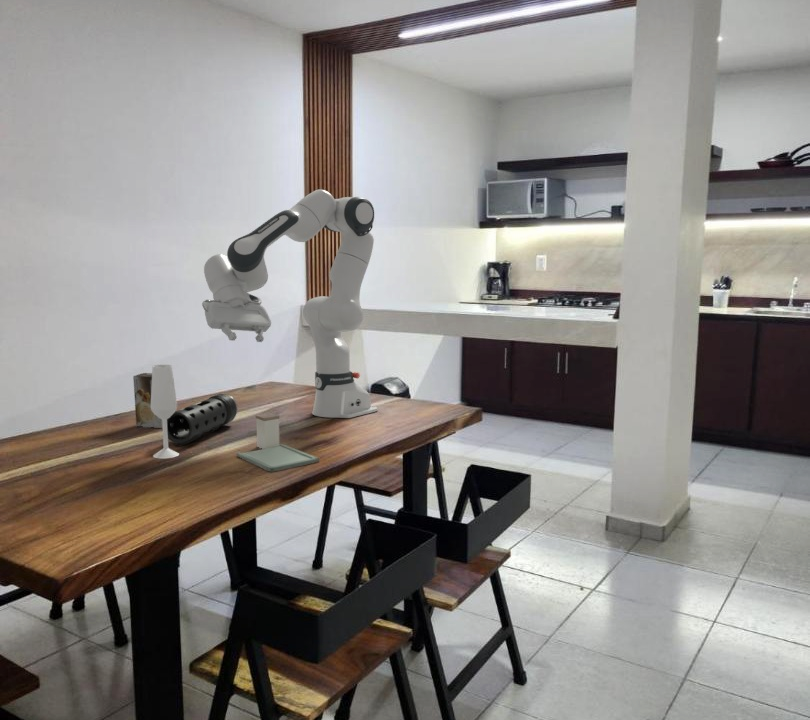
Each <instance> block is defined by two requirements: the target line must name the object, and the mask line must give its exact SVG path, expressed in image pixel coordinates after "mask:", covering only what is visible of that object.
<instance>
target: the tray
mask: <svg viewBox="0 0 810 720" xmlns="http://www.w3.org/2000/svg"><path fill="white" fill-rule="evenodd" d="M237 456H238V457H237ZM236 457H237V458H239V457H240V459H241V458H242V460H244V461H245V462H247V463H250V464H252V465H254V466H257V467H259V468H261V469H263V470H265V471H267V472H269V473H273V472H274V473H275V472H279V471H282V470H287V469H293V468H297V467H302V466H306V465H311V463H312V464H315V463H314V462H316V463H319V461H320V458H319V457H316V456H314V455H312V454H309V453H307V452H304V451H302V450H299V449H297V448H294V447H291V446H289V445H287V444H285V443H282V444H279V446H278V447H272V448H267V449H257V450H252V451H247V452H242V451H239V452H236Z"/></svg>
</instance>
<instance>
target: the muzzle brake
mask: <svg viewBox="0 0 810 720" xmlns="http://www.w3.org/2000/svg"><path fill="white" fill-rule="evenodd" d="M238 406H239V405H238V403H237V401H236V400H235V398H234V397H233V396H232V395H229V394H225V393H219V394H215V395H212V396H210V397H209V398H207V399H204V400H203V401H199V402H197V403H194V404H191V405H189V406H186V407H184V408H180V409H178V410H176V411H175V412H174V414H173V415H172V416H171V417H170V418H168V419H167V432H168V441H170V442H172V443H174V444H176V446H177V447H182V446H185V445H187V444H188V443H192V442H193V441H195V440H198V439H199V438H200V437H203V436H204V434H206V433H209V432H211V431H214V432H216V431H218V430H220V427H221V426H222V427H223V426H225V425H228V424H229V423H232V422H233V421H234V419H235V418H236V416H237V414H238V409H239V408H238ZM170 424H171V425H170ZM217 429H218V430H217ZM215 430H216V431H215Z"/></svg>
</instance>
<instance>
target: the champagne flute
mask: <svg viewBox="0 0 810 720" xmlns="http://www.w3.org/2000/svg"><path fill="white" fill-rule="evenodd" d="M151 368H152V371H151V373H152V388H151V410H152V412H153V413H154V414H155V415H156V416H157V417H158V418H160V419H162V425H163V428H162V443H163V448H162V449H160V450H159V451H157V452H156V453H154V454H153V455H152V457H153V458H155V459H164V460H165V459H172V458H175V457H178V456H179V455H180V453H179V452H177V451H176V450H173V449H172V448H170V447H169V439H168V432H167V419H168V418H170V417H171V416H172V415H173V414H174V412H175V411H177V409H178V402H177V393H176V387H175V381H174V373H173V366H172V364H156V365H153V366H152V367H151Z"/></svg>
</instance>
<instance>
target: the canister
mask: <svg viewBox="0 0 810 720" xmlns="http://www.w3.org/2000/svg"><path fill="white" fill-rule="evenodd" d="M255 418H256V447H257V448H258V447H259V448H258V449H261V448H262V449H267V448H272V447H278V446H280V415H278V414H276V413H272V412H269V413H263V414H262V413H261V414H255ZM262 449H261V450H262Z"/></svg>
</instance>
